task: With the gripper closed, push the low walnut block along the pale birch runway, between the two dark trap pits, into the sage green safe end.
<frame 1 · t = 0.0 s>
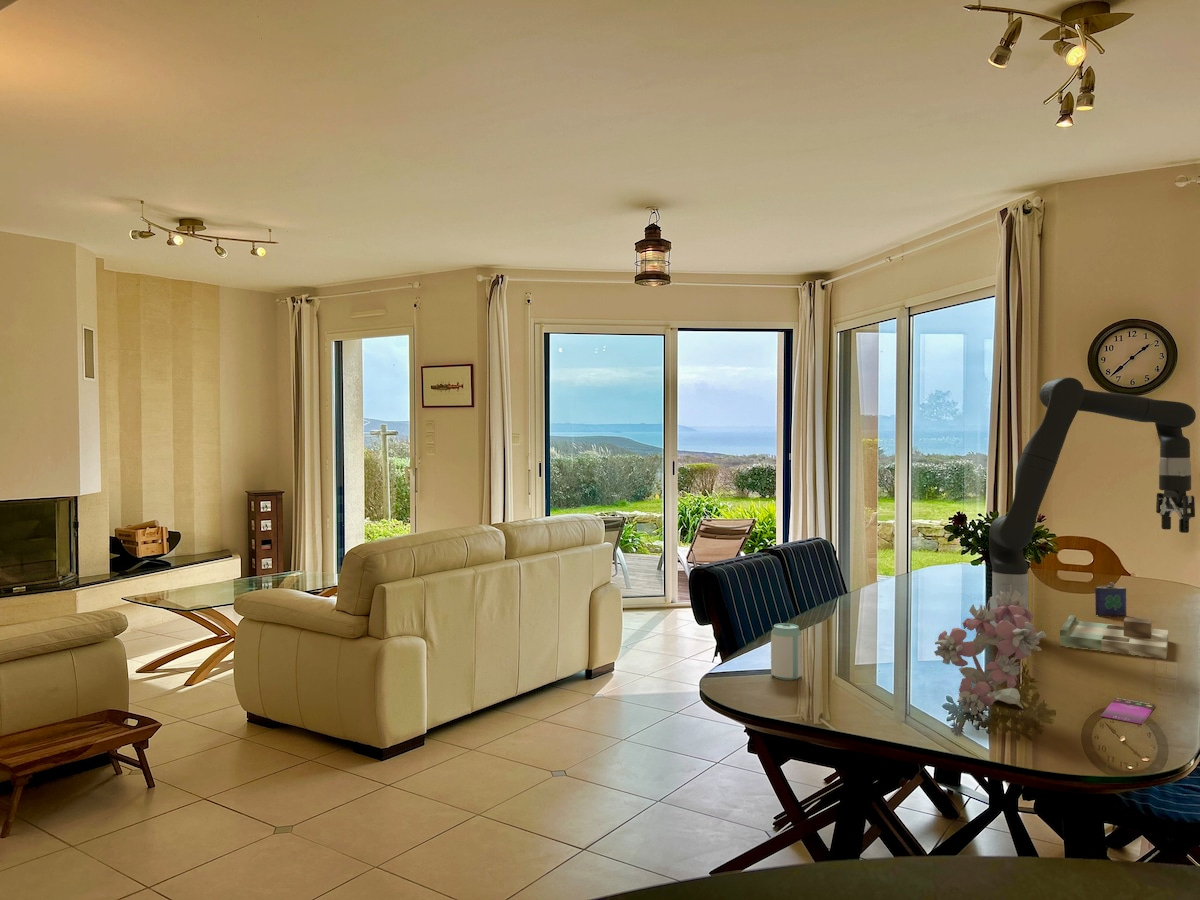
hand: (1175, 530, 237), 29 cm above the table, tool pointing down, fingers open, 8 cm apart
can: (786, 677, 196), on the table
flask: (1111, 616, 262), on the table
walnut block: (1137, 635, 223), point 3 cm above the table, touching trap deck
flower: (987, 709, 172), on the table
smartphone: (1128, 714, 170), on the table
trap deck: (1114, 643, 226), on the table
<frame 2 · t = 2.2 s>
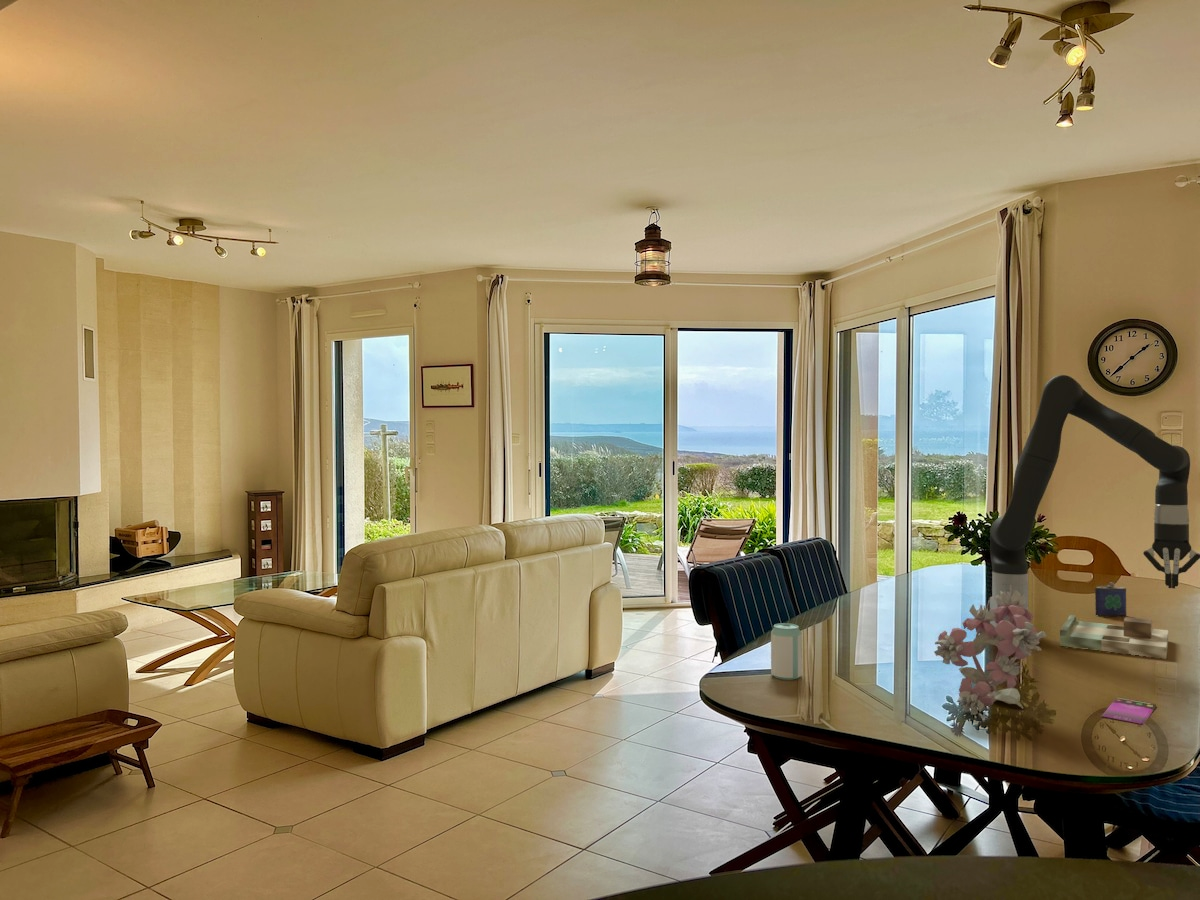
hand: (1171, 587, 218), 16 cm above the table, tool pointing down, fingers closed
nothing on the table moved.
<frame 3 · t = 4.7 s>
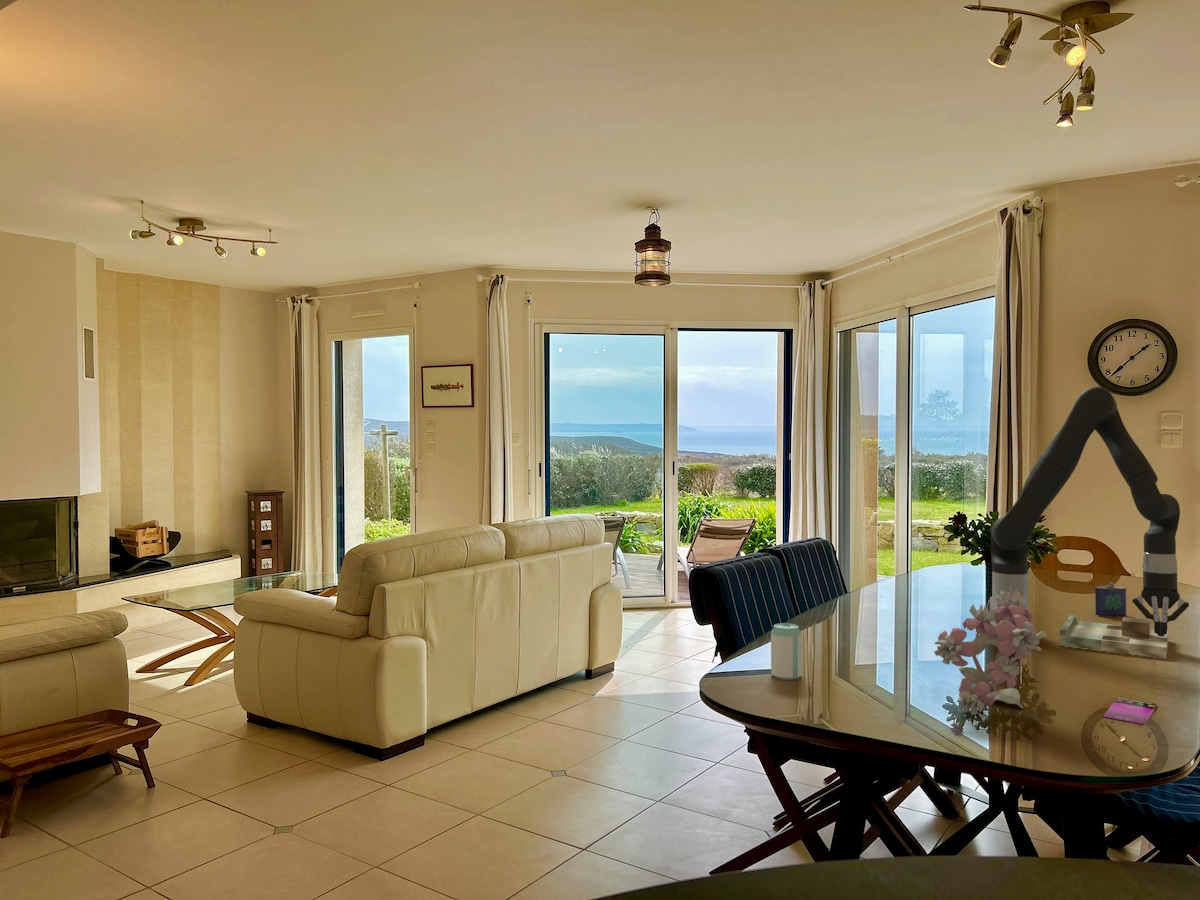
hand: (1160, 635, 220), 4 cm above the table, tool pointing down, fingers closed
walnut block: (1135, 635, 223), point 3 cm above the table, touching gripper, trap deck
everything else where it was.
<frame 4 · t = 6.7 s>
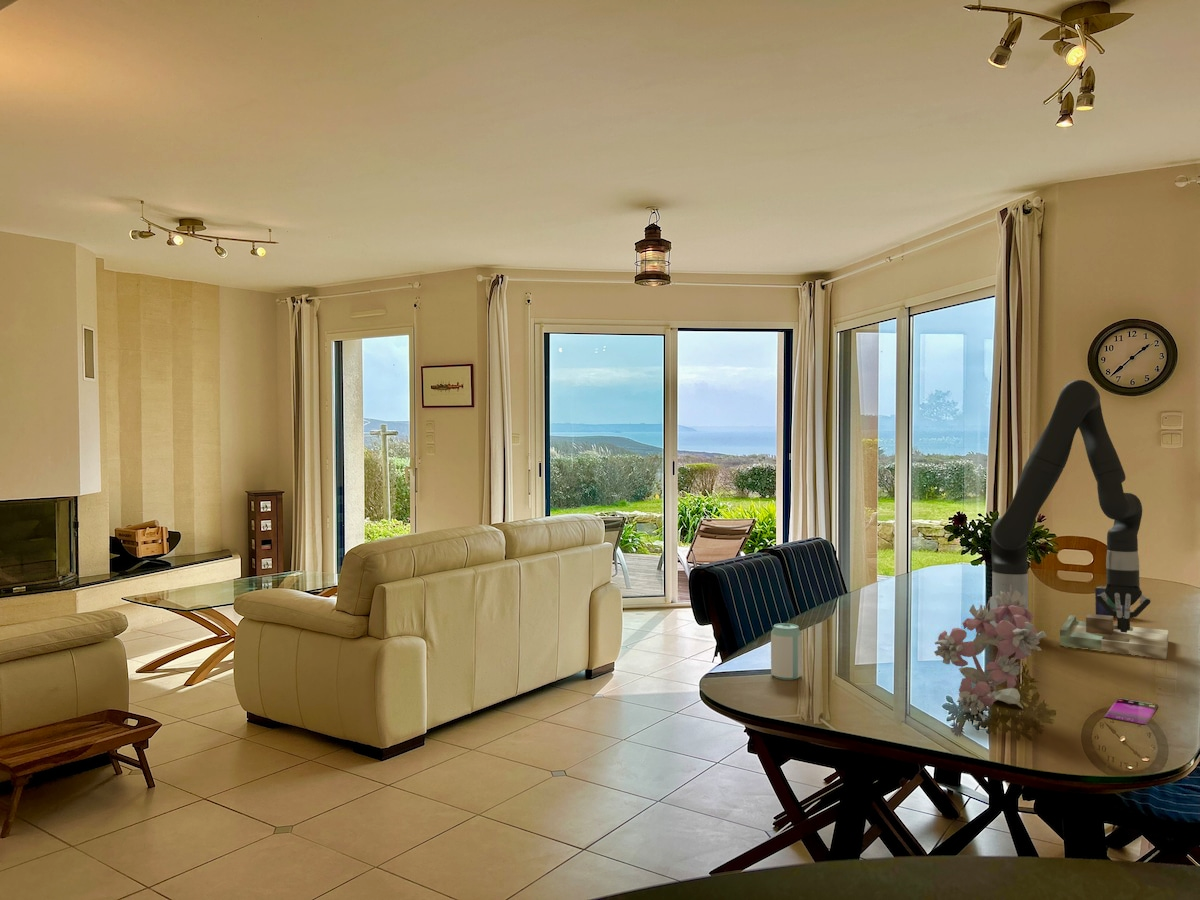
hand: (1123, 631, 225), 4 cm above the table, tool pointing down, fingers closed
walnut block: (1099, 631, 228), point 3 cm above the table, touching gripper, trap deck
everything else where it was.
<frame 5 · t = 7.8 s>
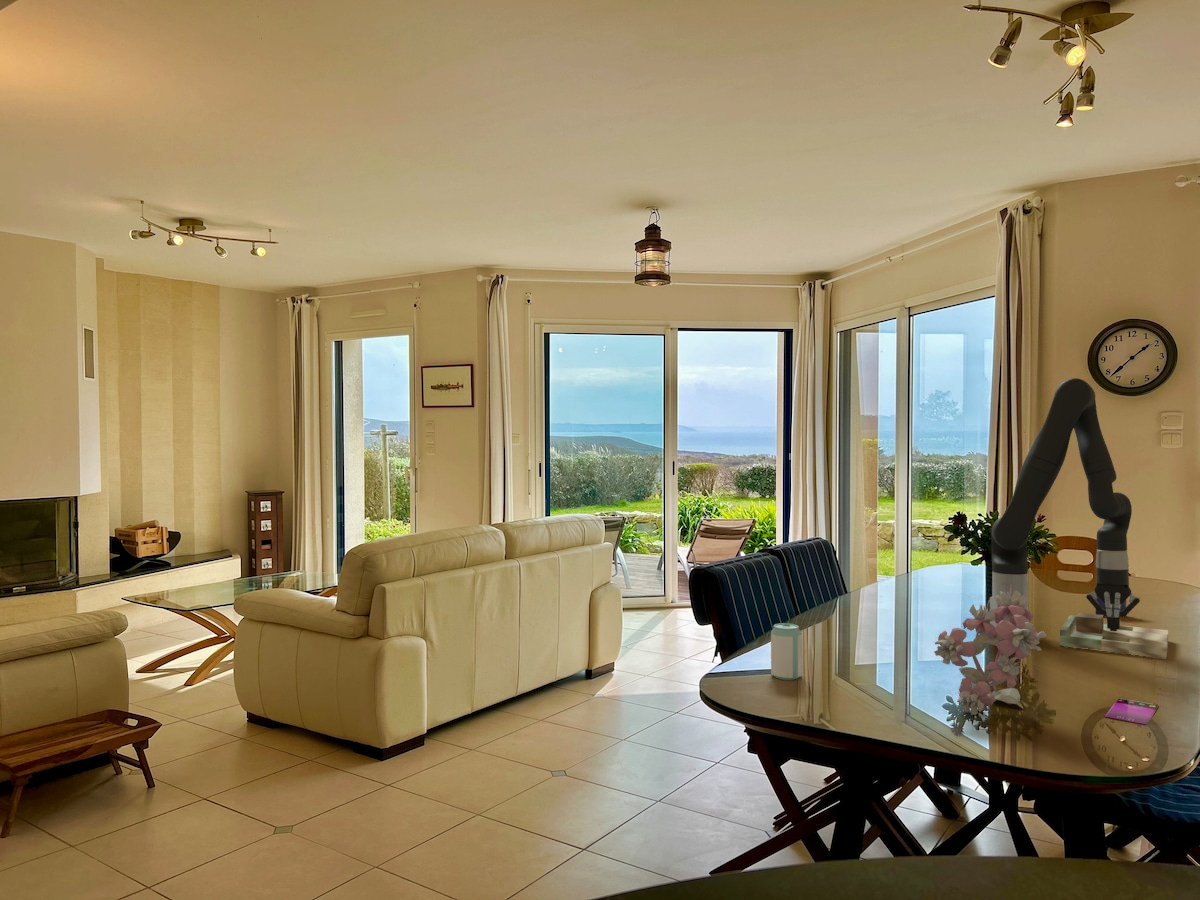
hand: (1113, 630, 226), 4 cm above the table, tool pointing down, fingers closed
walnut block: (1089, 630, 229), point 3 cm above the table, touching gripper, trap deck
everything else where it was.
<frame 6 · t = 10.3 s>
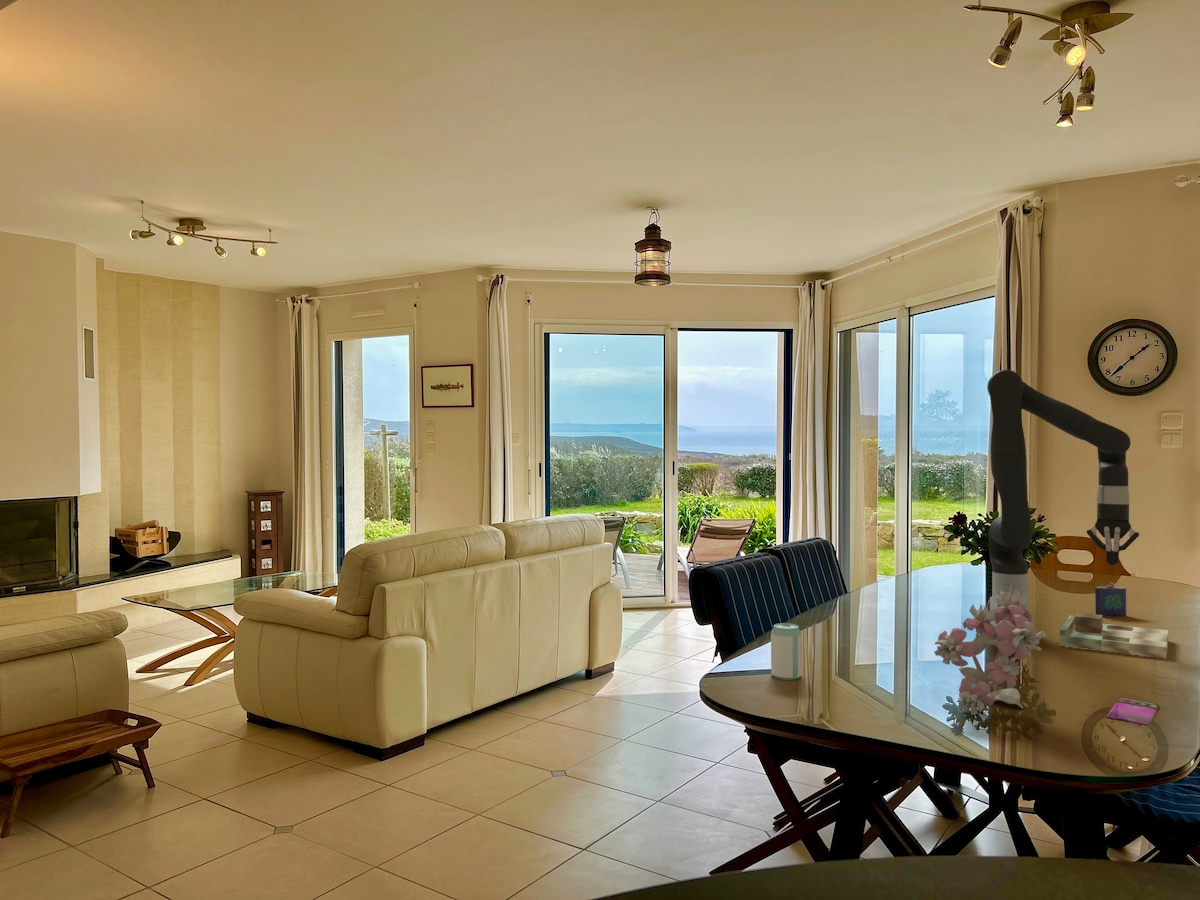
hand: (1112, 564, 230), 21 cm above the table, tool pointing down, fingers closed
walnut block: (1088, 630, 229), point 3 cm above the table, touching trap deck
everything else where it was.
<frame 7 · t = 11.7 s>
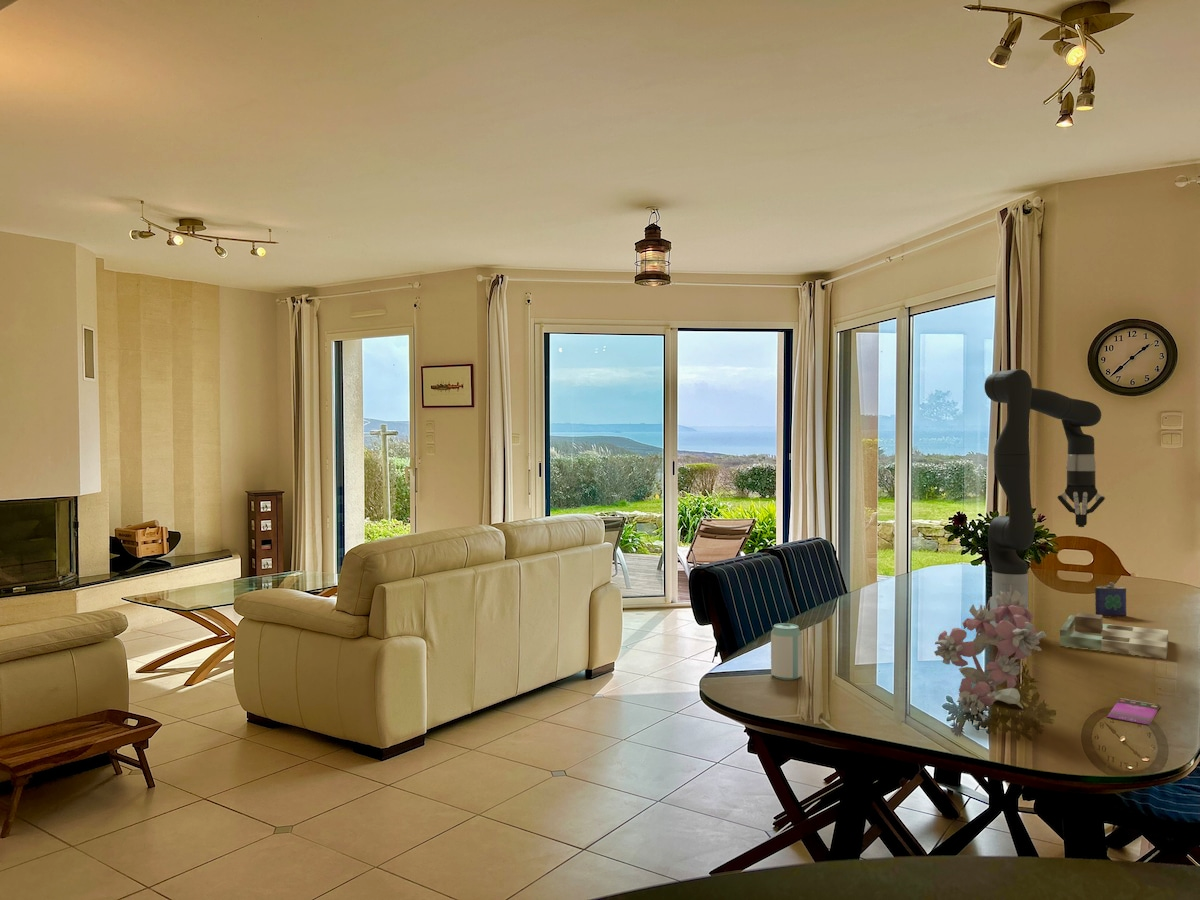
hand: (1081, 526, 252), 29 cm above the table, tool pointing down, fingers closed
nothing on the table moved.
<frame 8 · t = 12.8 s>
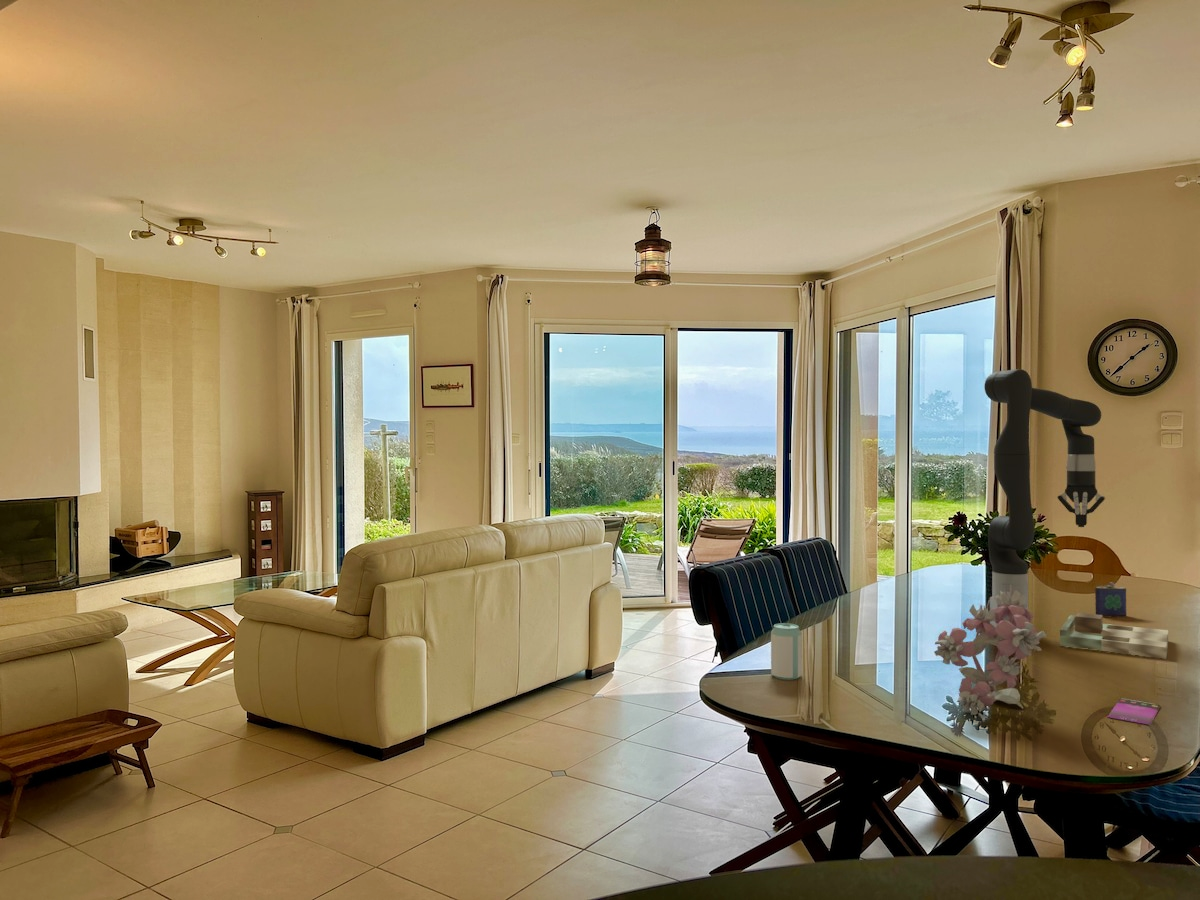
hand: (1081, 526, 252), 29 cm above the table, tool pointing down, fingers closed
at the end: walnut block inside the target area (0.7 cm from its centre), point 3.0 cm above the table; walnut block tilted 0°; walnut block moved 11.2 cm from its start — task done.
